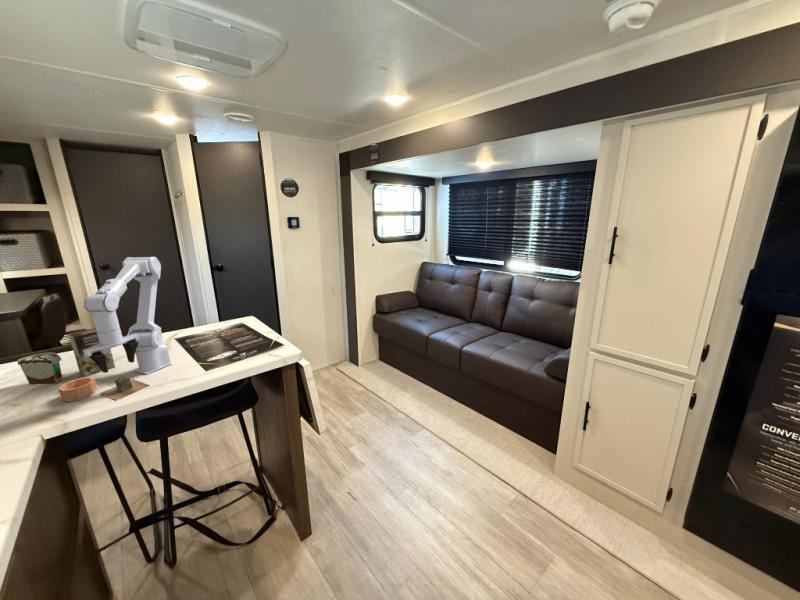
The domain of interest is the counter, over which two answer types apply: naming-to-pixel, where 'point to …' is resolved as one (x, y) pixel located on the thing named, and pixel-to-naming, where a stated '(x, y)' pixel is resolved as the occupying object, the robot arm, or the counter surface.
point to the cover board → (121, 395)
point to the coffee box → (83, 342)
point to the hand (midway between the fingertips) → (118, 366)
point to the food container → (42, 368)
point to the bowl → (77, 389)
